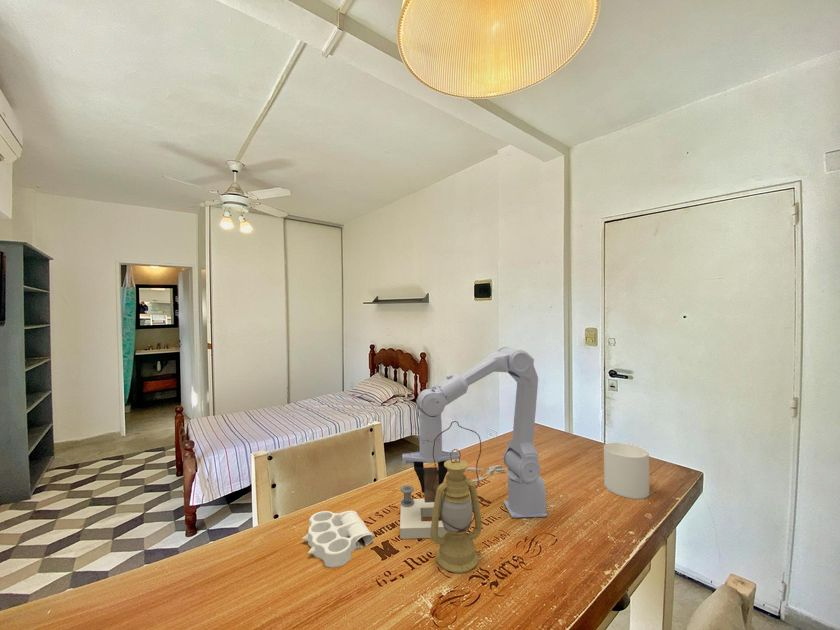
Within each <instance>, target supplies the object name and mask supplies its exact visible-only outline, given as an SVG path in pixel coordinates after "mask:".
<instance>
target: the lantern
mask: <svg viewBox="0 0 840 630" xmlns="http://www.w3.org/2000/svg"><path fill="white" fill-rule="evenodd" d="M453 423H456V424H457V426H458V427H459V428H461V429H464V430H467V431H470V432H473V433H475V435H477V436H478V439H479V445H480V450H479V454H478V457H477V459H476V464H475V465H476V467H475V468H476V470H475V471H476V472H475V473H476V479H478V482H477V485H476V482H473V481H472V480H473V479H469V478H467V476H466V474H464V473H465V471H466V470H465V469H466V468H469V463H468V462H467V461H465V460H463V459H461V451H460V450H459V449H457V448H453V450H451V451H450V452H451V453H452V452H454V451H457V452H458V453H459V455H460V458H459V459H451V460H447V461H446V462H445V463H444V466H445V467H446V468H447V471H448V472H447V474H446V476H445V481H443V483H442V484H440V485H439V486H438V488H437V490H436V494H435V492H434V490H433V486H432V490H433V492H434V494H435V502H434V508H433V514H432V517H431V521H432V522H431V538H430V539H431V541H432V542H433V543H434V544H436V545H438V547H439V548H438V549H437V551H436V554H435V558H436V561H437V563H438V565H439V566H440V567H441V568H442V569H444V570H445V571H447V572H450V573H453V574H464V573H467V572H470V571H471V570H473V569H474V568H475V567H476V566H477V565H478V563H479V554H478V553H477V551H476V550H475V549H476V548H475V547H476V545H475V543H474V540H476V539H477V538H478V537H479V535H480V534H481V532H482V529H483V522H482V513H481V508H480V502H479V501H480V500H479V496H478V491H477V488H478V487H479V483H480V481H479V473H477V468H478V463H479V460H480V456H481V453H482V441H481V436H480V435H479V434H478V433H477V432H476V431H474V430H472V429H469V428H466V427H463V426H461V425H459V422H458V421H456V420H455V421H451V422H450V425H449V427H448V428H446V429H445V430H443V431H442V432H441V433H440V434H442V435H443V433H445V432H446V431H448V430H449V429H450V428H451V427H452V425H453ZM440 434H439V435H440ZM439 435H438V436H439ZM438 436H437V437H438ZM437 437H436V438H437ZM436 438H435V440H436ZM435 440H434V445H435ZM450 457H451V454H450ZM433 459H434V446H433ZM434 467H435V478H436V467H437V462H435V460H434ZM435 478H434V481H435ZM434 481H433V485H434ZM439 515H440V516H441V517H439ZM439 521H442V523H443V526H444V528H445V530H446V531H447V533H446V534H445V535H444V536H443V537H439V536H438V523H439ZM473 522H474V526H475V527H474V529H473V531H470V532H468V531H469V530H470V528H471V525H472V523H473Z"/></svg>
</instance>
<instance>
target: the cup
mask: <svg viewBox="0 0 840 630" xmlns="http://www.w3.org/2000/svg"><path fill="white" fill-rule="evenodd" d="M603 474H604V475H603V483H604V484H603V485H604V487H605V489H606V490H608V491H609V492H610V493H612V494H614V495H617V496H619V497H623V498H627V499H632V500H642V499H646V498H648V497H649V496H650V454H649V451H648V450H646V449H645V448H644V447H640V446H639V445H634V444H630V443H626V442H608V443H606V444H604V445H603Z"/></svg>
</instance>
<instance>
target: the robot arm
mask: <svg viewBox="0 0 840 630" xmlns="http://www.w3.org/2000/svg"><path fill="white" fill-rule="evenodd" d="M534 362H535V358H533V357H532V355H530V354H529V353H528V352H527V351H526V350H523V349H514V348H511V347H510V348H509V347H508V346H503V347H501V348H499V349H497V350H495V351H492V352H491V353H490V354H489V355H488V356H486V357H485V358H484V359H482V360H481V361H479V362H478V363H476V364H475V365H474V366H472V367H471V368H469V369H468V370H466V371H465V372H464V373H462V374H458V373H453V374H451V373H449V374H447V375H446V376H445V379H443V380H442V381H441V382H438V383H437V384H433V385H431V386H430V387H431V388H426V389H423V390H422V391H420V393H419V394H418V396H417V398H416V405H417V407H418V408H419V422H418V424H419V425H418V427H419V434H418V435H419V451H416V452H410V453H402V465H403V466H404V465H407V464H413V470H414V472H415V474H416V476H417V478H418V481H419V484H420V489H421V493H422V494H424V493H425V488H424V468H425V467H424V465H425V464H428V463H429V464H430V463H431V464H433V463H434V460H435V463H437V468H438V473H439V485H440V484H442V483H444V482H445V479H446V475H447V474H448V473H449V472H448V471H447V468H446V467H445V466H444V463H445V462H446V461H447V460H451V459H459V458H460V459H461V456H460V453H459V451H457V452H454V451H453V452H452V451H443V444H442V443H443V437H442V435H443V433H442V434H440V433H441V432H443V431H442V430H443V429H442V428H443V427H442V424H443V423H442V422H443V421H442V413H443V412H444V410H445V408H446V406H448V405H449V404H451V403H452V402H454V401H456V400H458V399H459V398H460V397H461V396H463V395H465V394H467V392H468V388H469V386H470V385H472V384H475V383H476V382H477V381H480V380H482V379H484V378H485V377H487V376H488V375H490V374H492V373H495V372H496V373H507V374H509V375H510V376H511V378H513V379H514V381H516V391H515V403H514V404H515V405H514V414H513V415H514V417H513V427H512V438H511V439H510V440H509V441H507V445H506V450H505V451H504V453H503V458H502V459H503V463H504V465H505V467H507V499H504V500H503V504H504V506H505V508H506V509H507V511H508V513H509V515H510V516H511V518H513V519H514V518H515V519H519V518H539V517H540V518H541V517H542V518H545V517H547V516H548V514H547V500H546V499H547V494H546V486H545V485H546V484H545V481H544V479H543V477H542V476H541V475H540V474H541V470H542V469H541V466H540V462H539V453H538V451H537V448H536V447H535V444H534V438H535V437H534V434H535V432H534V431H535V424H536V409H537V397H538V387H539V386H538V385H539V376H538V373H537V371H536V368H535V364H534ZM439 434H440V435H439ZM438 435H439V436H438ZM437 436H438V437H437ZM436 437H437V438H436ZM435 438H436V440H435ZM434 440H435V445H434ZM433 446H434V459H433ZM451 452H452V453H451ZM450 454H451V457H450ZM435 463H434V464H435Z"/></svg>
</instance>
